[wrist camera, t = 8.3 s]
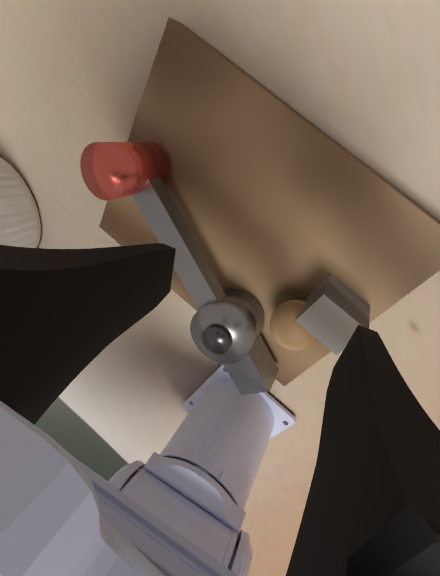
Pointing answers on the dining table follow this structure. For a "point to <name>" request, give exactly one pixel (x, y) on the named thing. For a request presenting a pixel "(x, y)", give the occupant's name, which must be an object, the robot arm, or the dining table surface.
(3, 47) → the dining table surface
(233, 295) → the lever
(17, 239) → the ramekin
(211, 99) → the board
